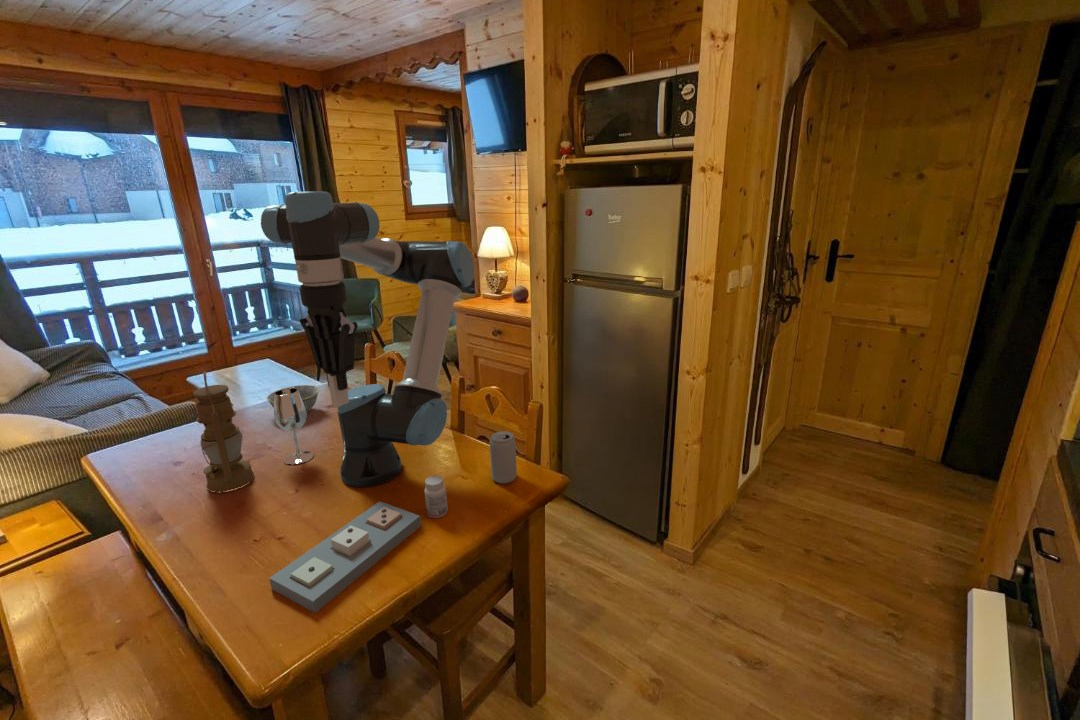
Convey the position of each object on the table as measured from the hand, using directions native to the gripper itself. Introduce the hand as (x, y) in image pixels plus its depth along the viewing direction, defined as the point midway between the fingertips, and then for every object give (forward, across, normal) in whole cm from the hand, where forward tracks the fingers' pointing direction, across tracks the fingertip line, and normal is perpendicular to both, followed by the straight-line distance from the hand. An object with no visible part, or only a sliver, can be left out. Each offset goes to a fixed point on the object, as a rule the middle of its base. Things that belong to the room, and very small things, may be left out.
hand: (340, 404), depth 95 cm
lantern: (+31, -47, 0) cm, 56 cm away
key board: (+30, +3, -5) cm, 31 cm away
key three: (+30, +3, +4) cm, 30 cm away
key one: (+30, +3, -14) cm, 33 cm away
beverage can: (+31, +15, +33) cm, 47 cm away
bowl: (+31, -70, +36) cm, 84 cm away
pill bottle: (+31, +9, +14) cm, 35 cm away
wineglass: (+31, -42, +16) cm, 54 cm away
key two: (+29, +3, -5) cm, 29 cm away
